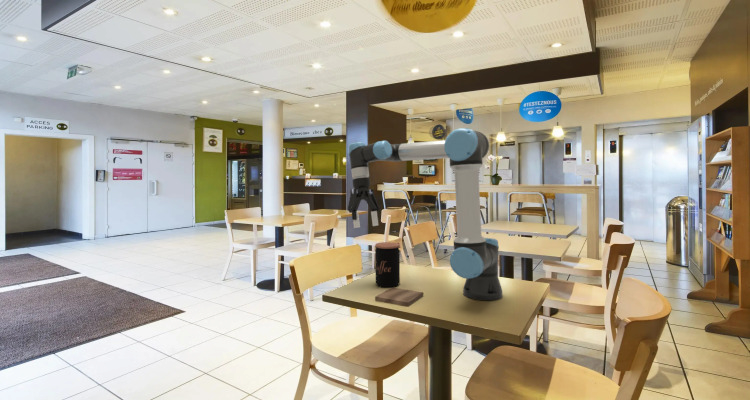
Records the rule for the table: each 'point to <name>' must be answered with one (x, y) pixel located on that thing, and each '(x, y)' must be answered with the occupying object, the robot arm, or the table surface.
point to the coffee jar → (387, 264)
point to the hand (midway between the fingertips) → (366, 226)
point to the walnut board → (399, 296)
